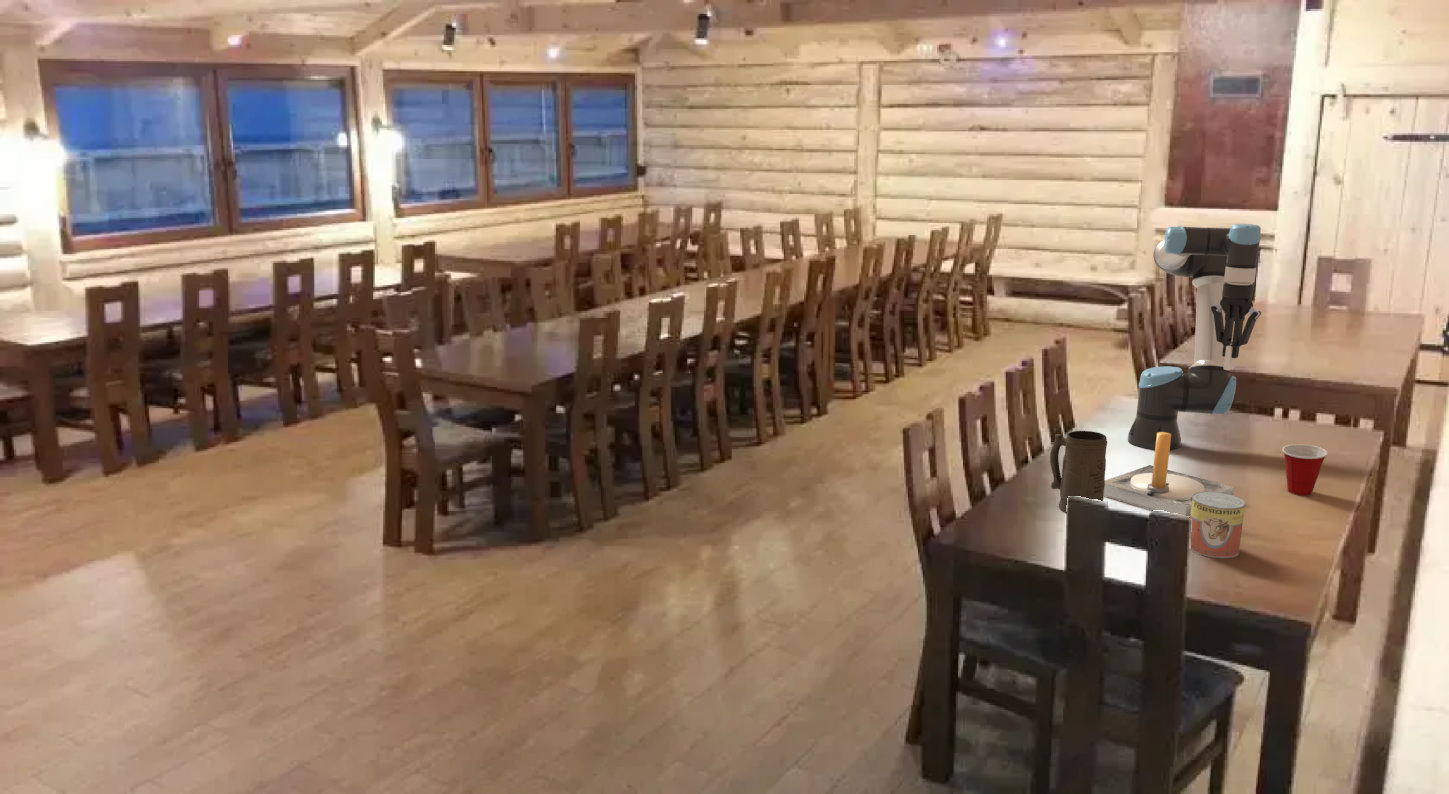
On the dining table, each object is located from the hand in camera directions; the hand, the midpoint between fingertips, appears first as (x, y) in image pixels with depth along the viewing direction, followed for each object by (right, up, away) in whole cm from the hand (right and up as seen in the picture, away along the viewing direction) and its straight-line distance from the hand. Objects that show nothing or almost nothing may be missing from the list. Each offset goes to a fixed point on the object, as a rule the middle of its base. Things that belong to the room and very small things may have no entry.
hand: (1228, 369), depth 308 cm
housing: (-21, -34, -11) cm, 41 cm away
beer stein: (-48, -36, -18) cm, 63 cm away
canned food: (-24, -43, -45) cm, 67 cm away
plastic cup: (+16, -33, -6) cm, 37 cm away
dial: (-21, -32, -11) cm, 40 cm away
